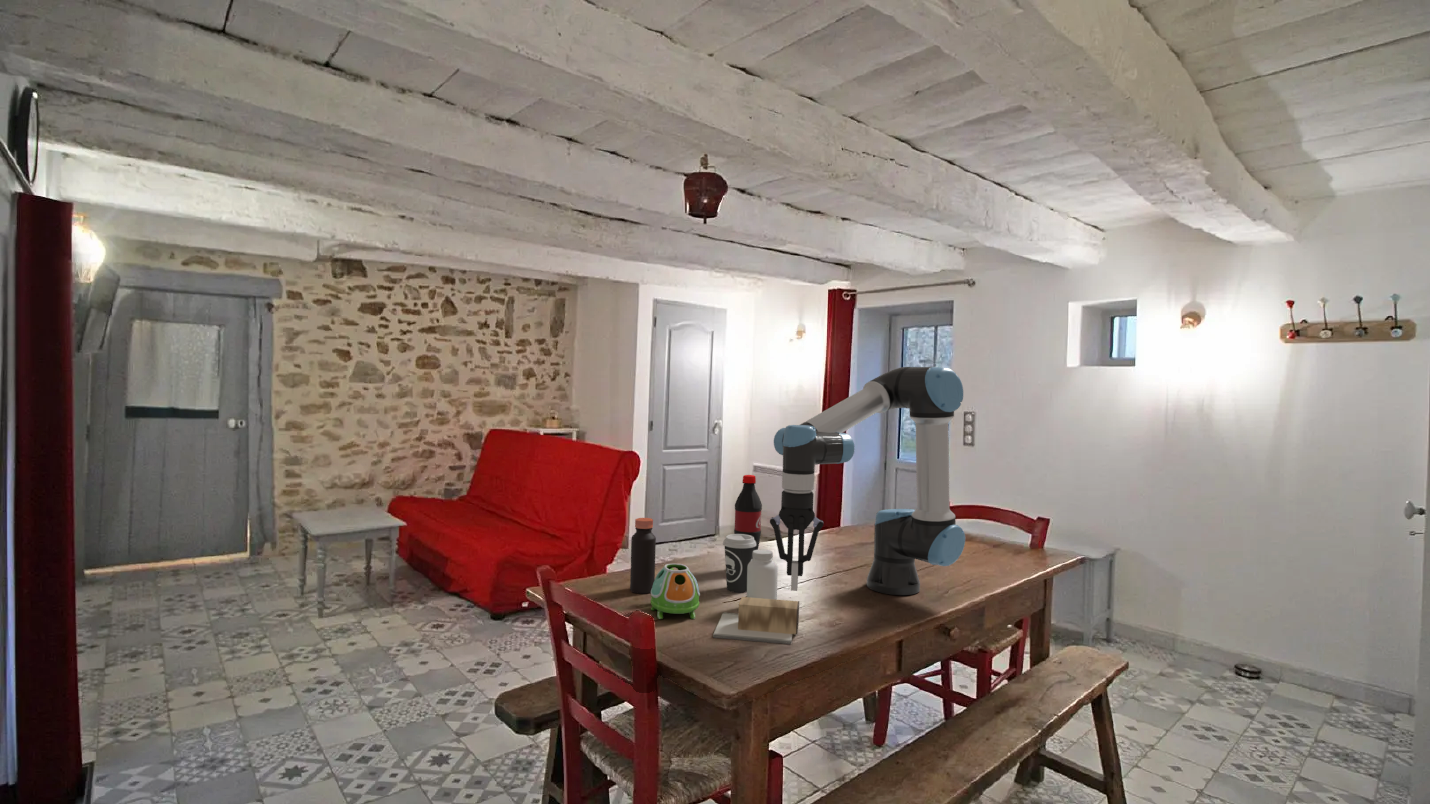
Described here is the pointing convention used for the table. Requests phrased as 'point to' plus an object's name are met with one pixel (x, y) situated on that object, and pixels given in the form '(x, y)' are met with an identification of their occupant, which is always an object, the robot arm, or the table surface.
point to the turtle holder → (675, 591)
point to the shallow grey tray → (746, 632)
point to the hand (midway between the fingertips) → (794, 588)
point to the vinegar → (642, 557)
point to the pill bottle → (762, 575)
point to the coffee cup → (738, 560)
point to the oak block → (768, 615)
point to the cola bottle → (748, 510)
